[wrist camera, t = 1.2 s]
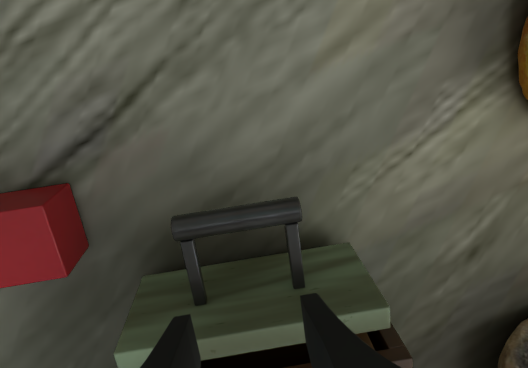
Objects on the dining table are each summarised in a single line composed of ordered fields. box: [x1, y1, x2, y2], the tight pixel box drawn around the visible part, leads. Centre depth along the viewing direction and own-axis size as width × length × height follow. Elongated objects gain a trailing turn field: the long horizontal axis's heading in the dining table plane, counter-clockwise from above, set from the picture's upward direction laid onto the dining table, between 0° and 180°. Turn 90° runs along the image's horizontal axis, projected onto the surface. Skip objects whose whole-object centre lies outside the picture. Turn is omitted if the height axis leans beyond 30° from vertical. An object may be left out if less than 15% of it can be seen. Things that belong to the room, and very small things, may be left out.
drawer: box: [114, 197, 391, 368], centre depth 21 cm, size 17×12×6 cm
